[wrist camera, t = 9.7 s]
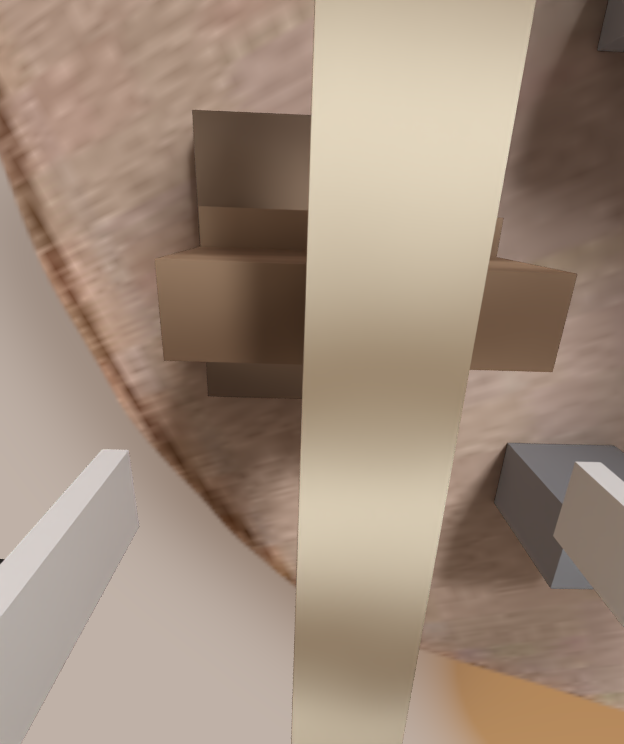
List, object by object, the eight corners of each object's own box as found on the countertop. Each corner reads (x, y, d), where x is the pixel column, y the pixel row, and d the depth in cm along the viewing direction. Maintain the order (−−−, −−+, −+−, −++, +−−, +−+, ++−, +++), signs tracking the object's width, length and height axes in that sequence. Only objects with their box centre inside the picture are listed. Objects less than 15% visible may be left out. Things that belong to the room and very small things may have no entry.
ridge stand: (201, 118, 17) (78, 2, 8) (485, 131, 18) (687, 33, 8) (214, 384, 22) (143, 513, 12) (444, 391, 22) (547, 521, 12)
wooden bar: (338, -748, 5) (374, -1820, 3) (567, -725, 5) (851, -1749, 3) (292, 697, 15) (289, 808, 12) (375, 698, 15) (390, 808, 12)
